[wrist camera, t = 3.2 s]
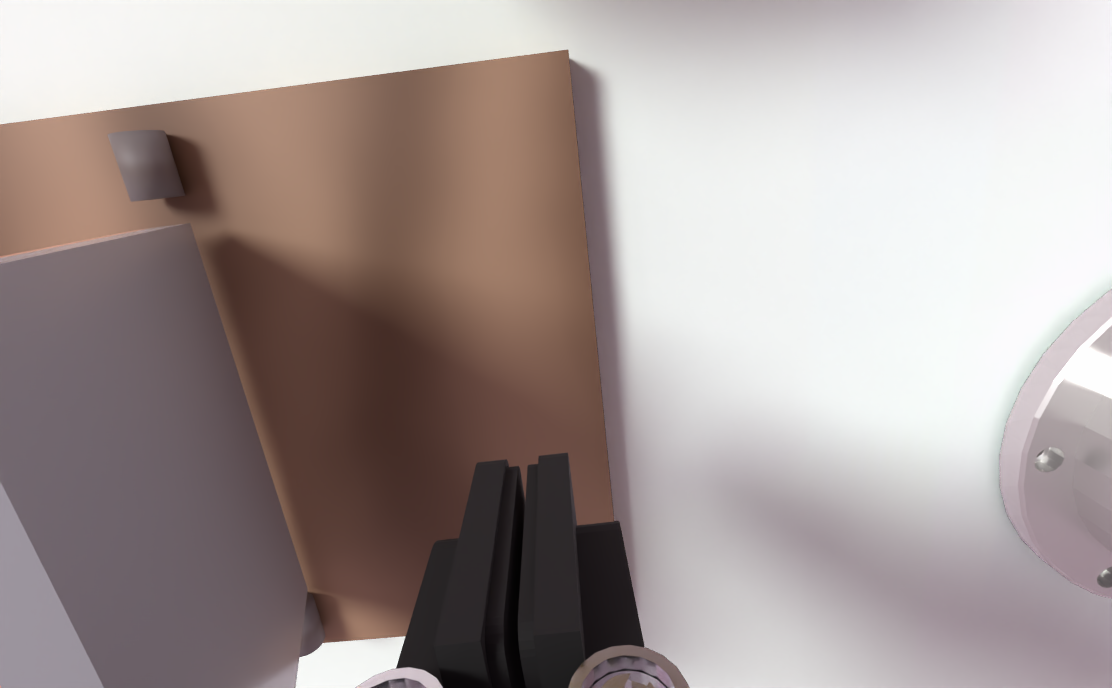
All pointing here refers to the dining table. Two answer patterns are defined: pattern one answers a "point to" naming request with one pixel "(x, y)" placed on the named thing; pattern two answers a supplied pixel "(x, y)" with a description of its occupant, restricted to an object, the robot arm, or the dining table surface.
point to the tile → (134, 480)
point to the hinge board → (364, 292)
